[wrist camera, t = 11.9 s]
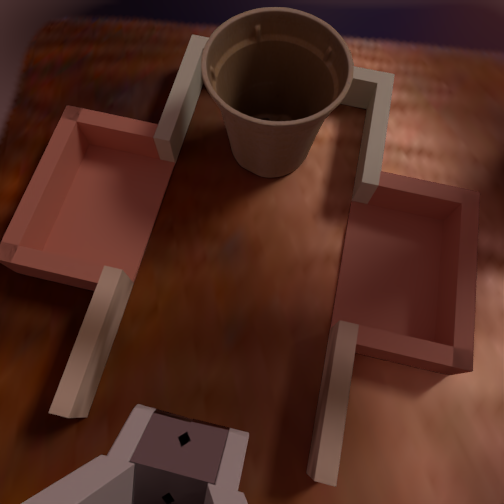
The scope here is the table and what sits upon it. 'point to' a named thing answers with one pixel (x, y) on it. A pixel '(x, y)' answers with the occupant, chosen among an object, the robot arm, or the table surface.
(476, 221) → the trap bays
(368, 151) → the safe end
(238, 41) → the flower pot
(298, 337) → the table surface
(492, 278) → the table surface
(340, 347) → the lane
